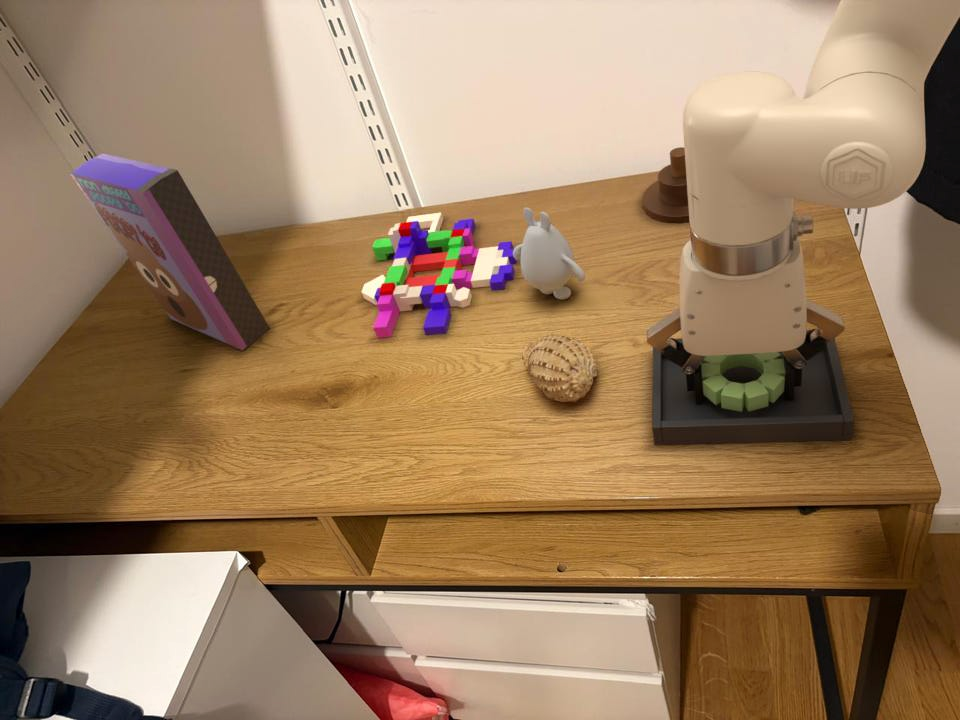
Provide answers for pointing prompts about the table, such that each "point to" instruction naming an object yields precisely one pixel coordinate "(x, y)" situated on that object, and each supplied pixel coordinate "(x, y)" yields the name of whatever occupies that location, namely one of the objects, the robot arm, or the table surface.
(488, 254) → the building block set
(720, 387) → the ring
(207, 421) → the table surface
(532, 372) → the seashell
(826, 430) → the tray
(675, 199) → the stand
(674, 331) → the robot arm
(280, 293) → the table surface
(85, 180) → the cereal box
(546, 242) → the toy figure
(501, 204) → the table surface
